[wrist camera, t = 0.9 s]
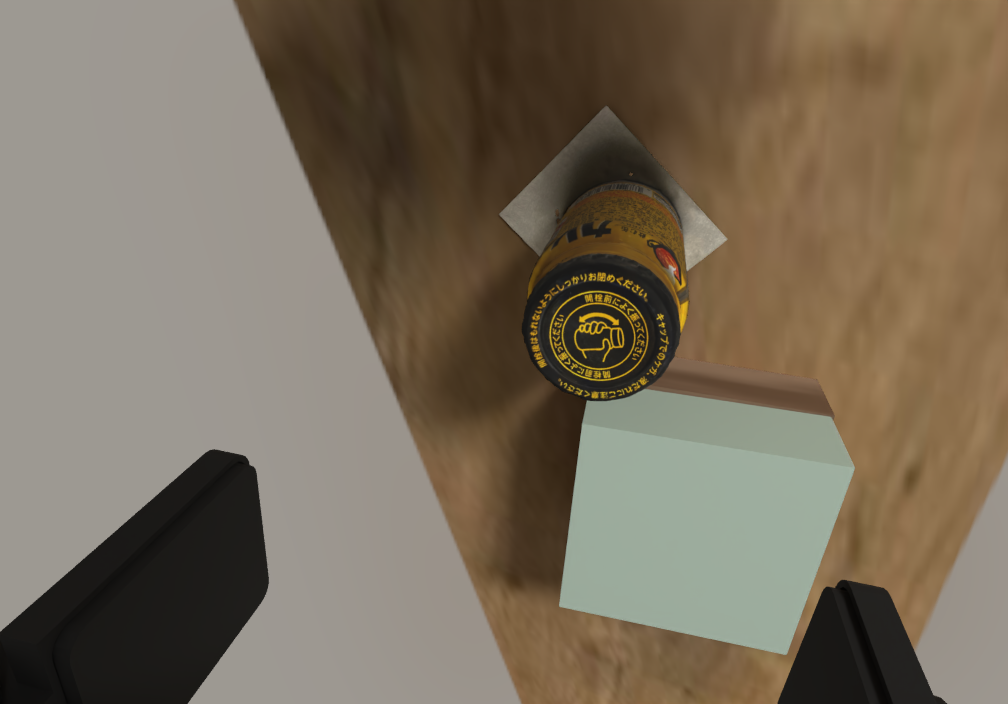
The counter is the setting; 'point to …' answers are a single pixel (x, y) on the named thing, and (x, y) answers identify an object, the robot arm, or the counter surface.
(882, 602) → the robot arm
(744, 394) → the bottom block
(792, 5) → the counter surface
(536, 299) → the condiment
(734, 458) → the top block
